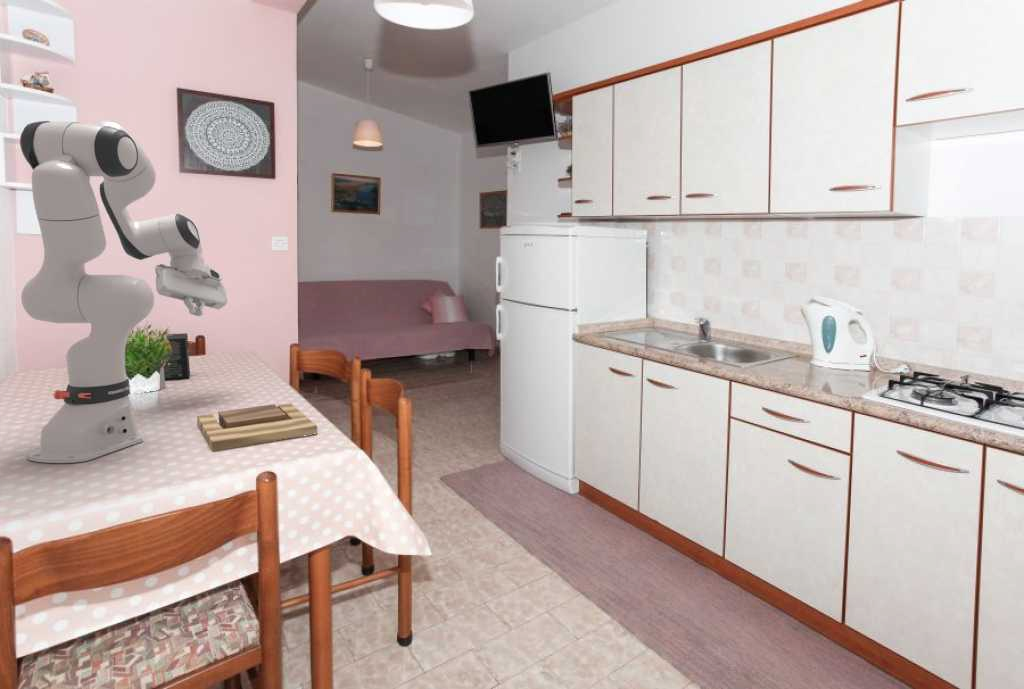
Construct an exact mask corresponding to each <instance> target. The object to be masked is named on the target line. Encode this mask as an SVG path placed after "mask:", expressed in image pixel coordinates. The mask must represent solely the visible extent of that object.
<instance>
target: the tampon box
mask: <svg viewBox="0 0 1024 689" xmlns="http://www.w3.org/2000/svg"><path fill="white" fill-rule="evenodd" d="M166 334H167V335H166V338H167V339H168V340H169V342H170V345H171V347H172V349H173V351H172V354H171V356H170V358H169V359H168V361H167V363H166V365H165V366H164V378H165V382H166V381H175V380H176V381H180V380H189V379H190V376H191V370H190V369H191V368H190V354H189V340H188V332H187V333H186V332H184V333H166Z"/></svg>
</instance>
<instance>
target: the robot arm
mask: <svg viewBox="0 0 1024 689" xmlns="http://www.w3.org/2000/svg"><path fill="white" fill-rule="evenodd" d="M19 146H20V150H21V152H22V155H23V156H24V159H25V160H26V162H27V163H28V165H30V167H31V169H32V173H31V190H32V198H33V204H34V210H35V214H36V218H37V220H38V226H39V230H40V233H41V237H42V244H43V250H44V253H43V254H44V256H43V262H42V264H41V267H40V269H39V271H38V272H37V273H36V274H35V275H34V276H33V277H32V278H31V279H29V280H28V281H27V282H26V283H25V285H24V286H23V289H22V291H21V296H20V297H21V304H22V306H23V309H24V311H25V313H26V314H28V316H29V317H31V318H32V319H34V320H35V321H36V320H37V321H40V322H41V321H42V322H47V323H53V324H54V323H55V324H90V332H89V335H88V336H87V337H84V338H83V339H81V340H78V341H77V342H75V343H73V344H72V345H71V346H70V347H69V348H68V350H67V352H66V355H65V358H66V366H67V377H68V384H67V387H66V390H59V389H57V390H54V392H53V393H52V394H53V399H55V400H63V402H64V403H63V405H62V406H61V407H60V408H59V409H58V411H57V412H56V413H55V414H54V415H53V416H52V417H51V419H50V420H49V421H48V422H47V423H46V424H45V425H44V426H43V428H42V429H41V432H40V439H39V440H40V447H39V448H37V449H36V450H33V451H32V452H30V453H28V454H27V459H28V460H29V461H32V462H35V463H45V464H48V463H49V464H72V463H73V464H74V463H81V462H87V461H91V460H94V459H95V458H99V457H102V456H104V455H108V454H110V453H113V452H116V451H119V450H122V449H125V448H127V447H130V446H133V445H137V444H140V443H141V442H143V441H144V440H143V439H144V438H143V436H142V435H140V432H139V428H138V422H137V418H136V413H135V411H134V407H133V405H132V403H131V400H130V397H129V395H130V394H131V389H130V388H131V386H130V385H131V384H130V383H129V380H128V379H127V378H128V377H127V370H126V367H125V362H126V346H127V342H128V339H129V337H130V335H131V333H132V332H133V330H134V328H135V327H136V326H138V324H139V323H140V322H142V321H143V320H144V319H147V317H148V316H149V315H150V314H151V312H152V310H153V308H154V305H155V304H154V303H155V295H154V292H153V290H152V288H151V286H150V285H149V284H148V282H146V280H144V279H143V278H139V277H135V276H129V275H123V274H89V273H88V274H87V273H86V272H87V271H86V270H85V264H86V263H89V262H91V261H93V260H96V258H98V257H100V256H101V255H102V254H103V253H104V251H105V250H106V246H107V240H106V236H105V231H104V226H103V222H102V221H103V220H102V217H101V213H100V209H99V205H98V202H97V198H96V195H95V192H94V190H93V187H92V185H91V183H90V180H91V177H102V178H103V181H102V182H101V183H100V184H99V194H100V199H101V202H102V204H103V206H104V210H106V214H107V215H108V217H109V219H110V222H111V224H112V225H113V227H114V229H115V231H116V234H117V236H118V238H119V242H120V244H121V247H122V249H123V250H124V252H125V254H126V255H128V256H129V257H131V258H134V259H136V260H138V261H139V260H140V261H142V260H145V259H148V258H152V257H154V256H157V255H162V254H166V253H168V255H169V257H170V262H169V264H170V266H168V265H166V264H163V263H161V264H157V265H155V269H154V270H155V274H156V276H155V290H156V292H157V293H158V295H159V296H162V297H167V298H171V299H175V300H180V301H183V303H184V306H185V307H186V308H187V309H188V312H189V315H192V316H196V317H201V316H202V315H204V311H203V310H204V307H208V308H211V309H215V310H220V309H222V308H223V307H224V306H226V304H227V303H228V298H227V293H226V289H225V285H223V283H222V280H223V277H222V274H221V273H219V272H217V271H216V270H215V269H213V268H211V267H210V266H208V264H206V263H205V259H204V258H203V255H202V254H203V248H202V245H201V244H202V243H201V239H200V235H199V231H198V228H197V227H196V224H195V223H194V222H193V221H192V220H191V219H190V218H188V217H186V216H185V215H183V214H180V213H174V214H167V215H163V216H159V217H155V218H151V219H150V218H149V219H146V220H141V221H139V220H138V221H137V220H136V221H135V220H132V218H131V216H130V214H129V211H128V209H127V207H128V206H130V205H131V204H133V203H135V202H137V201H139V200H141V199H142V198H144V197H146V196H147V195H148V194H149V193H150V192H151V190H152V189H153V188H154V185H155V182H156V180H157V178H156V177H157V174H156V171H155V168H154V165H153V164H152V161H151V160H150V158H149V157H148V155H147V154H146V152H145V151H144V149H143V148H142V146H141V145H140V144H139V143H138V141H137V140H136V138H134V137H133V135H131V133H130V132H129V131H127V130H126V128H125V127H123V126H122V125H121V124H119V123H118V122H114V121H110V120H101V121H96V122H94V123H92V124H90V123H82V122H79V121H49V120H41V121H35V122H30V123H28V124H26V126H25V127H24V128H23V130H22V132H21V134H20V137H19Z"/></svg>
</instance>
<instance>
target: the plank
mask: <svg viewBox="0 0 1024 689" xmlns="http://www.w3.org/2000/svg"><path fill="white" fill-rule="evenodd" d="M283 420H286V414H285V413H284V412H283V411H282V410H280V409H279V408H278V405H276V404H267V405H266V404H265V405H260V406H253V407H252V406H251V407H244V408H243V407H242V408H238V409H231V410H230V409H229V410H228V409H227V410H222V411H221V410H220V411H218V424H219V423H220V424H219V425H220V427H221V428H222V427H223V428H222V429H227V428H234V427H241V426H248V425H255V424H262V423H269V422H276V421H283Z"/></svg>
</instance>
